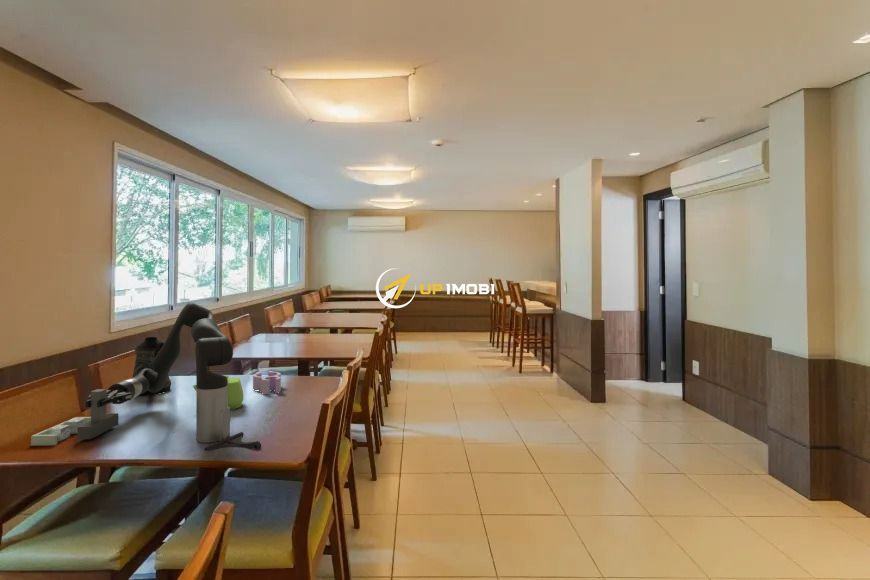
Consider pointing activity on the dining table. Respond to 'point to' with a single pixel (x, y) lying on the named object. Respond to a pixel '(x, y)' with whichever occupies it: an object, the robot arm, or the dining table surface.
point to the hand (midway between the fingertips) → (92, 404)
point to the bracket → (234, 443)
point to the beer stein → (149, 360)
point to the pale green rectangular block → (49, 436)
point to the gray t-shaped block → (97, 418)
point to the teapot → (233, 392)
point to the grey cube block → (60, 431)
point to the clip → (267, 382)
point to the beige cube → (74, 424)
